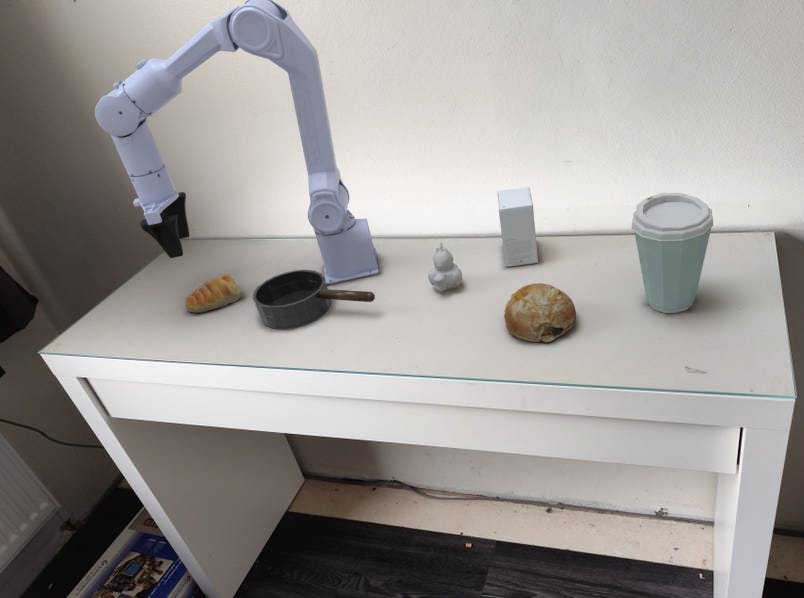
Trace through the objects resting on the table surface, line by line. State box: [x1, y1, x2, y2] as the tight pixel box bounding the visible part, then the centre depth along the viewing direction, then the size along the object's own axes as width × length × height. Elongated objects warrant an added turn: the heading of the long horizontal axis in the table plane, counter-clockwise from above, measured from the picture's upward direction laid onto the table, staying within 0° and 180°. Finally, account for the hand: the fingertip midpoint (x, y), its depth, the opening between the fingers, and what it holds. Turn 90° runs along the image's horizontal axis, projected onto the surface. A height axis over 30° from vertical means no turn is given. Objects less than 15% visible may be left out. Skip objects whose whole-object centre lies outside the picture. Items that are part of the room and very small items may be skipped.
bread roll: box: [503, 282, 577, 344], centre depth 96 cm, size 10×10×8 cm
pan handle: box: [319, 288, 376, 303], centre depth 106 cm, size 10×2×2 cm, turn 71°
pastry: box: [184, 273, 243, 314], centre depth 116 cm, size 9×7×4 cm
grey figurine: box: [427, 242, 463, 291], centre depth 107 cm, size 5×7×8 cm
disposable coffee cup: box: [630, 192, 714, 314], centre depth 93 cm, size 11×11×15 cm
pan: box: [252, 269, 332, 330], centre depth 110 cm, size 12×12×4 cm
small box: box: [496, 186, 539, 268], centre depth 112 cm, size 8×6×10 cm
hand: (180, 246), depth 114 cm, fingers open, 7 cm apart
